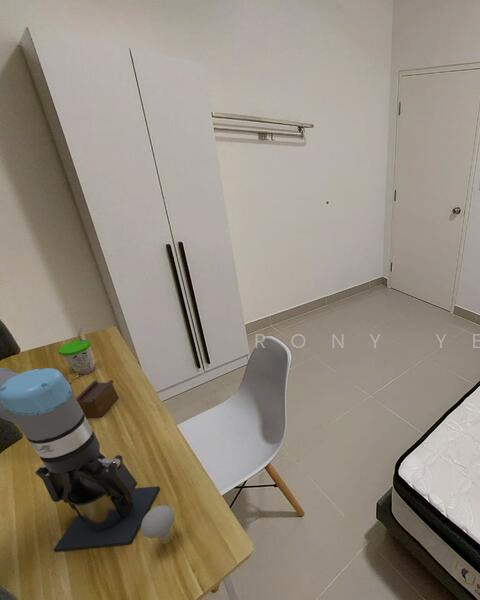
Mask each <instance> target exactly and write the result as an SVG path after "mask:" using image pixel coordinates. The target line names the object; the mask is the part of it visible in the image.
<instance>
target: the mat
mask: <svg viewBox="0 0 480 600" xmlns="http://www.w3.org/2000/svg"><path fill="white" fill-rule="evenodd" d="M160 490H161V487H160V486H159V485H158V486H157V485H156V486H146V487H144V486H143V487H135V489H134V491H133V492H132V494H131V495H132V497H133V498H132V502H133V504H134V506H133V508H132V509H131V511H130V513H129V515H128V516H127V518H123V517H122V518H121V519H120V520H119V521H118V522H117V523H115V524H114V525H112V526H110V527H108V528H106V529H103V530H92V529H90V528H89V526H88V525H87V523H86V522H85V521H82V519H81V518H80V516H79V515H78V514H77V515H76V516H75V517H74V519H73V521H72V522H71V523H70V525H69V526H68V528H67V529H66V530H65V531H64V533H63V535H62V536H61V538H60V539H59V541H58V542H57V543H56V544H55V546H54V548H53V549H52V550H53V552H54V553H59V552H70V551H79V550H89V549H98V548H108V547H117V546H128V545H132V543H133V541H134V540H135V538H136V537H137V534H138V532H139V530H140V529H141V523H142V520H143V518H144V516H145V515H146V514H147V513H148V512H149V511H150V510H151V507H152V505H153V504H154V502H155V499H156V497H157V496H158V494H159V493H160Z"/></svg>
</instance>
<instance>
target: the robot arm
mask: <svg viewBox="0 0 480 600" xmlns="http://www.w3.org/2000/svg"><path fill="white" fill-rule="evenodd" d="M76 398H77V397H76V395H75V393H74V391H73V390H72V386H71V384H70V382H69V381H68V380H67V379H66V377H64V375H63V373H62V372H61V371H59V370H58V369H56V368H52V367H44V368H34V369H30V370H26V371H24V372H21V373H20V372H18V371H16V370H13V369H7V368H1V367H0V420H2V421H4V422H5V421H6V422H9V423H14V424H15V425H16V426H17V427H18V428H19V429H20V431H21V432H22V434H23V435H24V436H25V438H26V440H27V441H29V443H30V444H31V446H32V448H33V449H34V450H35V452H36V454H37V455H38V456H39V458H40V460H41V462H42V464H41V466H39V467H38V469H37V470H36V471H35V475H36V476H38V477H39V478H40V479H41V480H42V482H43V484H44V486H45V488H46V490H47V493H48V494H49V497H50V499H51V501H52V502H54V503H59V502H60V501H63V503H66V504H68V505H69V507H70V508H71V509H72V510H74V511H75V512H76V513H77V515H79V516H80V518H81V519H82V521H85V520H84V519H83V517H82V516H81V514H80V513H79V511H78V510H77V508H76V507H75V505H73V504H71V503H70V502H69V500H68V493H70V492H72V491H73V489H74V488H75V487H76V485H77V484H78V483H79V481H80V479H81V478H86V479H87V480H88V481H90V482H91V483H93V482H96V483H97V484H99V485H100V486H101V487H103V488H104V489H105V490H109V493H111V494H112V495H113V496H115V498H114V499H113V501H114V503H115V505H116V507H117V508H118V510H119V512H120V514H121V515H122V517H123V518H127V516H128V515H129V513H130V511H131V509H132V508H133V506H134V504H133V502H132V498H133V497H132V495H131V494H132V492H133V491H134V489H135V488H137V486H138V485H139V484H138V481H137V480H136V478H135V477H134V476H133V474H132V473H131V472H130V470H129V469H128V467H127V466H126V465H125V464H124V460H123V456H122V455H120V454H117V455H115V457H114V458H107V457H106V456H105V455H104V454H102V453H101V452H100V450H101V449H100V445H101V443H100V441H99V439H98V437H97V436H96V434H95V432H94V431H93V428H92V426H91V424H90V423H89V421H88V418H86V416H85V414H84V413H83V411H82V409H81V407H80V405H79V403H78V401H77V399H76Z"/></svg>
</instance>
